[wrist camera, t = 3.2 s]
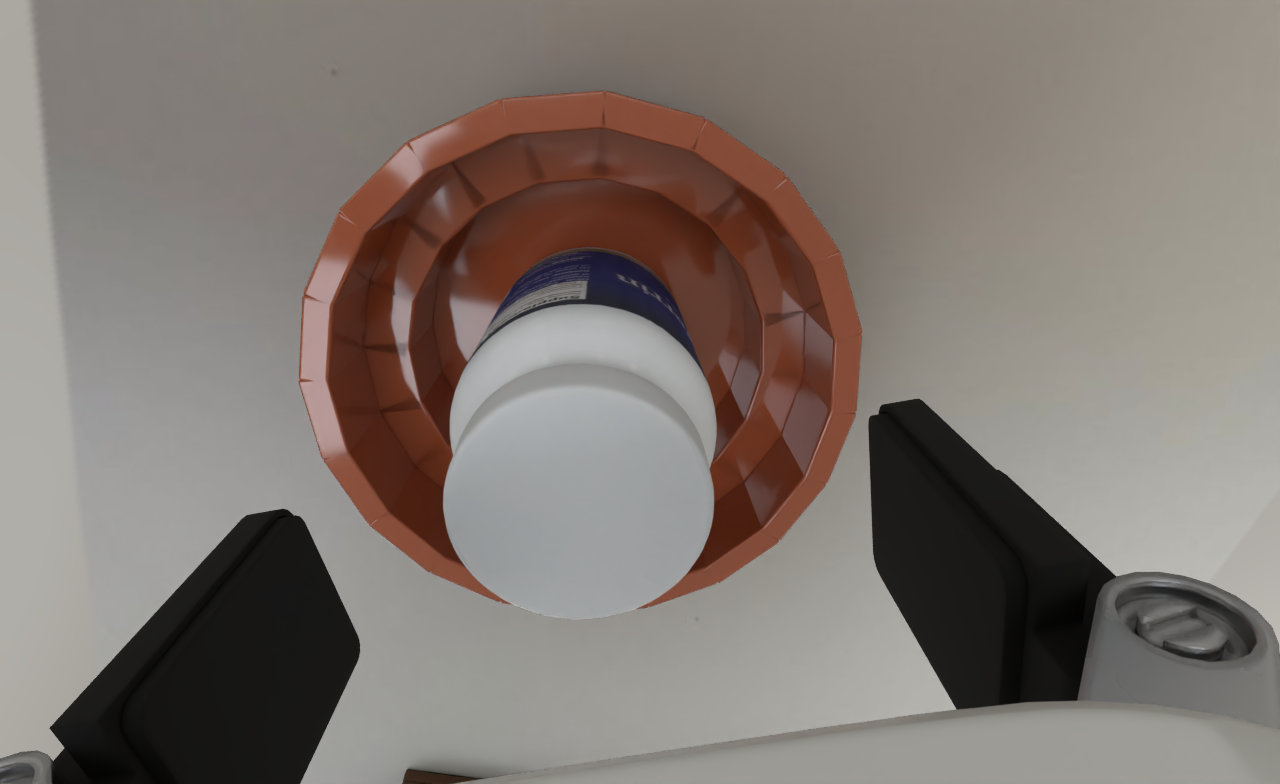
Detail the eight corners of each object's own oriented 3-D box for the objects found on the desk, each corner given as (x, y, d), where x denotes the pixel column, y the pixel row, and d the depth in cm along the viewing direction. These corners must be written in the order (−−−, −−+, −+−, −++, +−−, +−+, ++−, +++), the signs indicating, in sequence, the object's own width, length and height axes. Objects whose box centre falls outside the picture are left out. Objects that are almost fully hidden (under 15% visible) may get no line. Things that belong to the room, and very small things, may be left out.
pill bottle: (713, 364, 21) (799, 563, 12) (562, 445, 22) (531, 689, 12) (624, 205, 19) (642, 293, 9) (461, 302, 19) (333, 468, 10)
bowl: (285, 307, 20) (176, 373, 15) (611, -16, 17) (614, -70, 12) (577, 566, 24) (570, 685, 19) (876, 347, 21) (960, 419, 16)
